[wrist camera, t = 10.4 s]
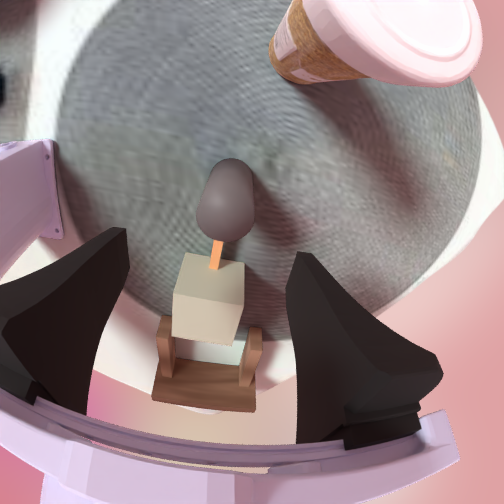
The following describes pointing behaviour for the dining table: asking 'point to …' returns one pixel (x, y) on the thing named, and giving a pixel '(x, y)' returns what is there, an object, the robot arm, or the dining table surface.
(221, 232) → the multicoloured piece
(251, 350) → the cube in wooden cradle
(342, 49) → the sprinkles bottle
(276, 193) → the dining table surface
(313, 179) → the dining table surface
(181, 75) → the dining table surface
